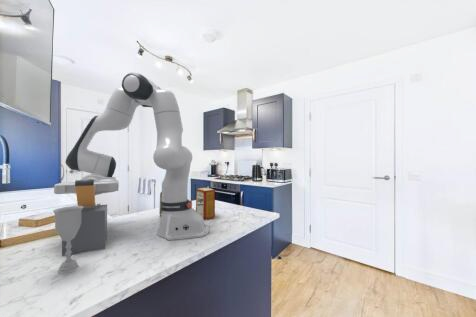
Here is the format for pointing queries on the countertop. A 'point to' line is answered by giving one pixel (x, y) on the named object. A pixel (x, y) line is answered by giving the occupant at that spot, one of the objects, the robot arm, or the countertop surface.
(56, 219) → the chalice
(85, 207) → the lever
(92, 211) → the box
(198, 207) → the baking soda box
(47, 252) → the countertop surface
